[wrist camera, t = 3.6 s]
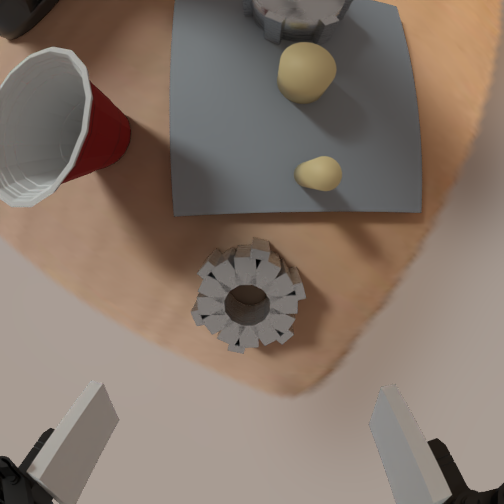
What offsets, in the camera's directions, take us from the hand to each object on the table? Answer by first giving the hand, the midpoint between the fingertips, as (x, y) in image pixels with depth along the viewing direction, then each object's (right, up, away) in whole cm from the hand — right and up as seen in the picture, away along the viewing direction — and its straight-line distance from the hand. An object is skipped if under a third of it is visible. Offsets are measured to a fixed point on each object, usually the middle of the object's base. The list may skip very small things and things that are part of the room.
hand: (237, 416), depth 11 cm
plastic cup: (-13, +18, +12) cm, 25 cm away
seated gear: (+4, +29, +7) cm, 30 cm away
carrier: (+5, +22, +10) cm, 24 cm away
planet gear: (0, +4, +15) cm, 16 cm away
